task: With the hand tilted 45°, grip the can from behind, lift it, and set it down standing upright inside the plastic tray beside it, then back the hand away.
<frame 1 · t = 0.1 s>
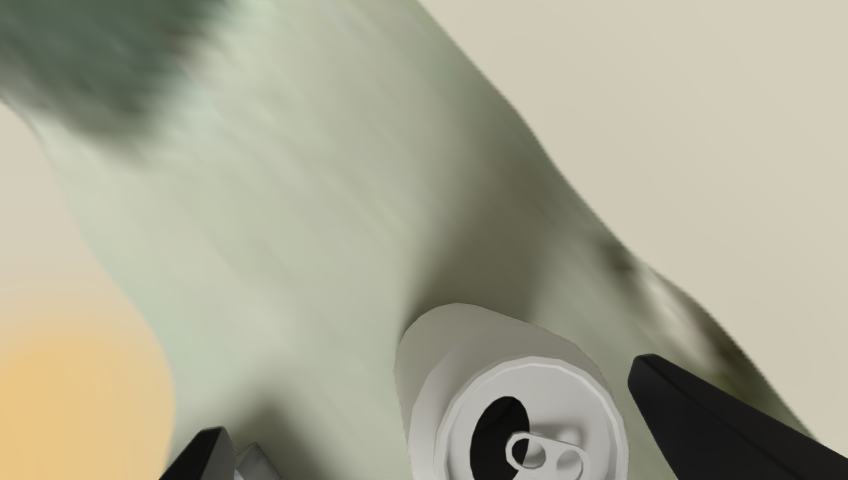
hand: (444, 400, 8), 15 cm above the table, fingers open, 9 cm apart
can: (454, 363, 24), on the table
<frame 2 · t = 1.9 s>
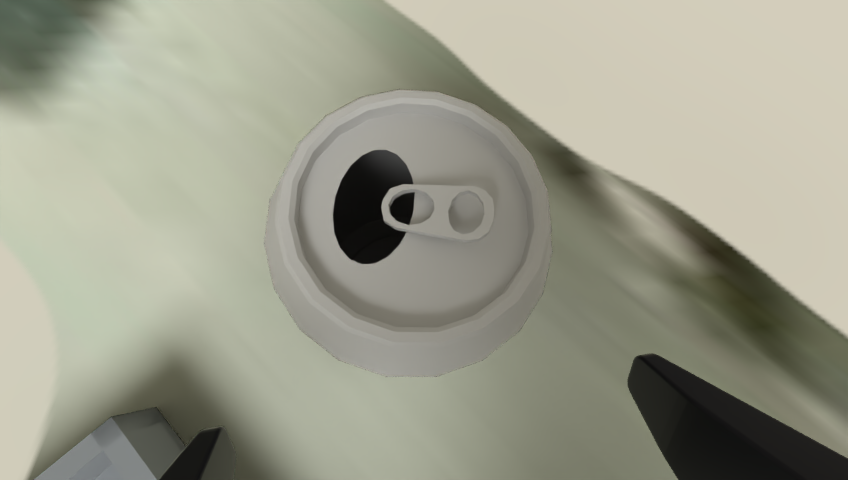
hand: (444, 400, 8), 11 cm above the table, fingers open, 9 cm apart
can: (399, 291, 20), on the table
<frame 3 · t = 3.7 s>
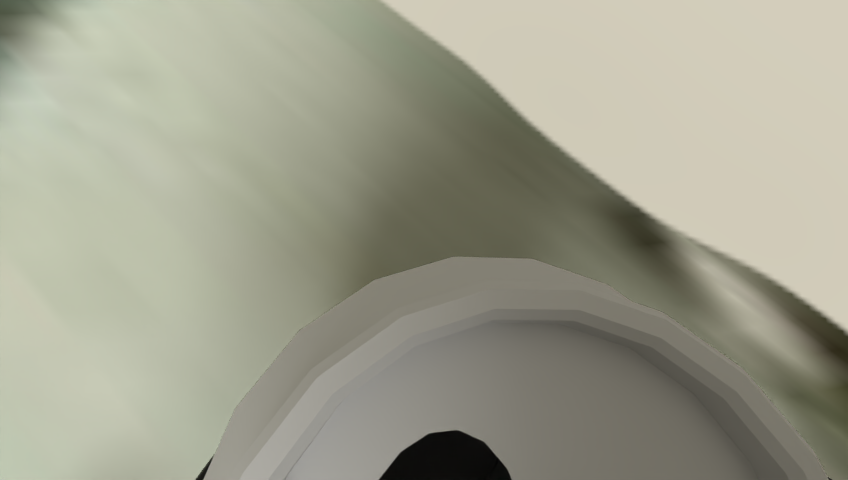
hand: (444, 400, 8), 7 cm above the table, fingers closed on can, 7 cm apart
can: (423, 420, 15), on the table, touching gripper
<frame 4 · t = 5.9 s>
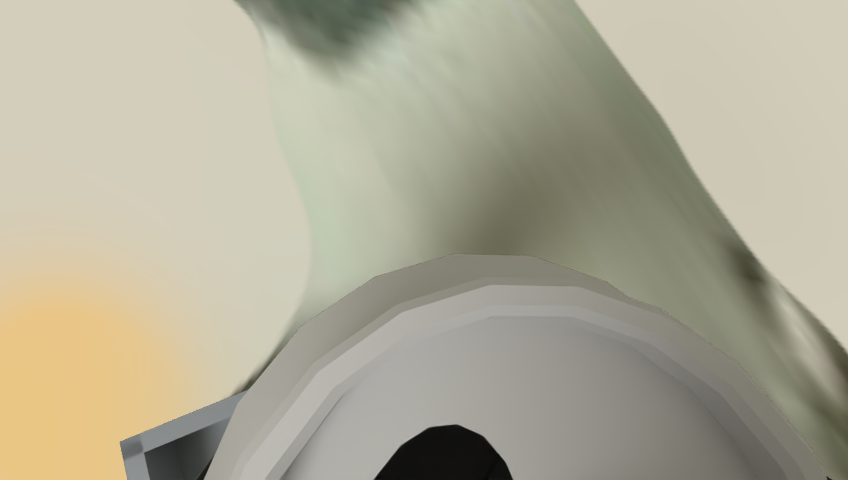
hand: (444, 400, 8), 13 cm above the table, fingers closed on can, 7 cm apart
can: (424, 418, 15), point 6 cm above the table, touching gripper
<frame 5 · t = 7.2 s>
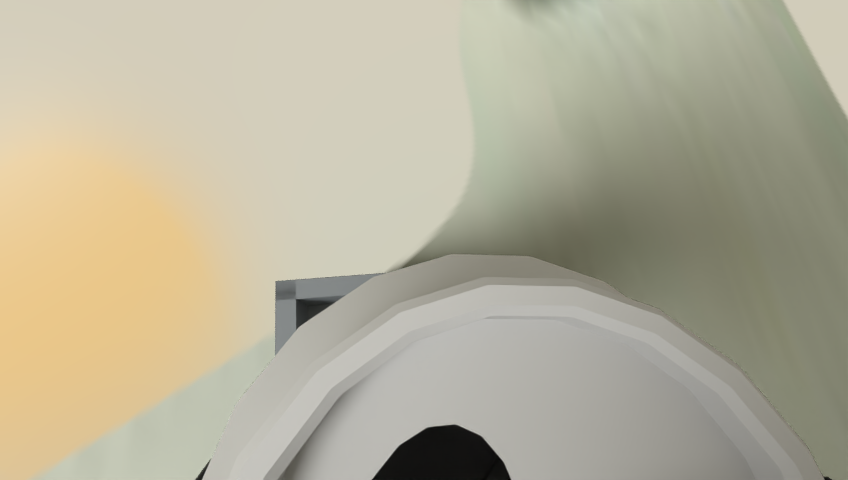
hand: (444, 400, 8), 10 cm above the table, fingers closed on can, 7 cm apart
can: (423, 418, 15), point 3 cm above the table, touching gripper
tray: (415, 400, 18), on the table
when the fingers open (8 cm above the table, at t = 8.2 s): can stays where it is, resting on tray.
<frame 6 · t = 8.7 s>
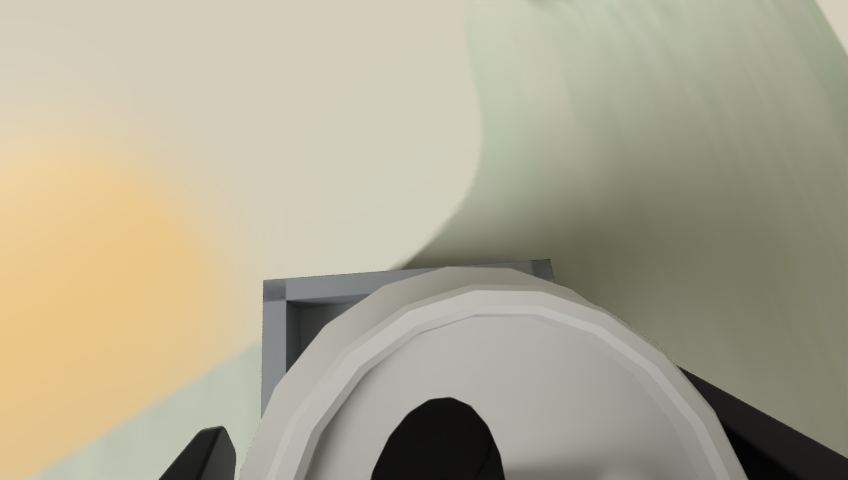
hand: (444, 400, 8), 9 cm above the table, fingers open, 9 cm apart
can: (419, 419, 16), resting on tray
tray: (419, 413, 16), on the table
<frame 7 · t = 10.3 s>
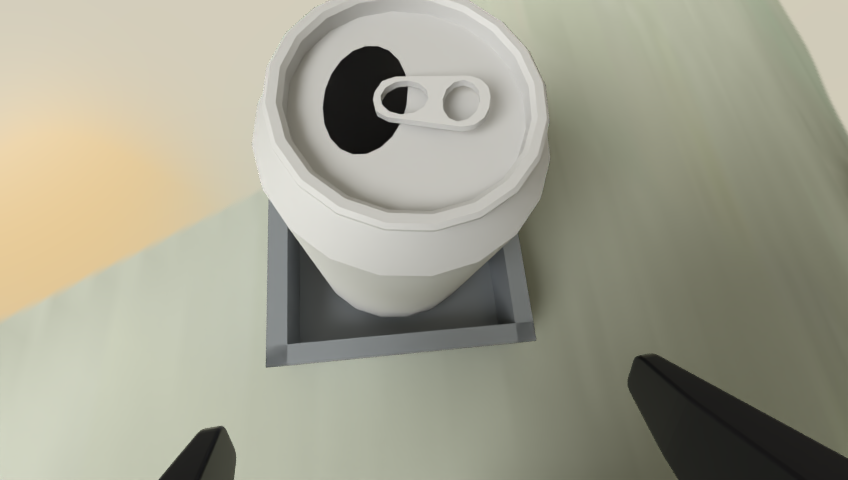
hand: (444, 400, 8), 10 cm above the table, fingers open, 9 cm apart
can: (394, 245, 20), resting on tray
tray: (394, 243, 20), on the table
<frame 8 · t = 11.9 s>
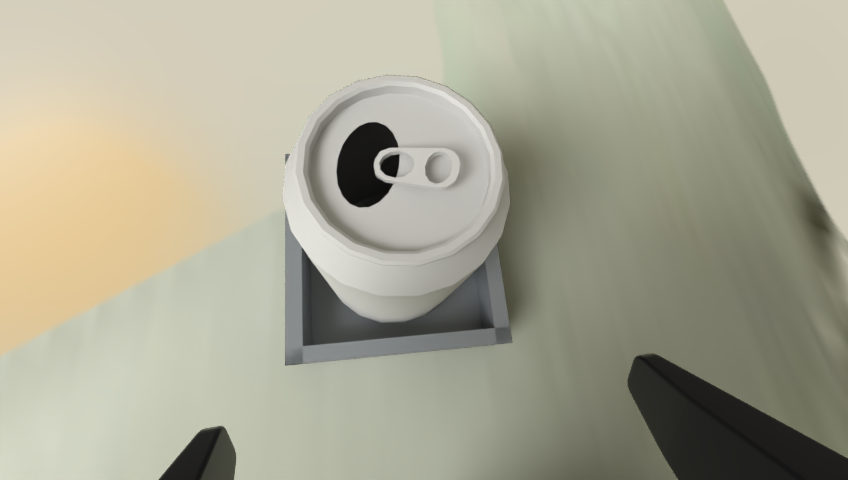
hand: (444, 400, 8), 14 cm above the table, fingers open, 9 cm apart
can: (392, 259, 23), resting on tray
tray: (393, 258, 23), on the table
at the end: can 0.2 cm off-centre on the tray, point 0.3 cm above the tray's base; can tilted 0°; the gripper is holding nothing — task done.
